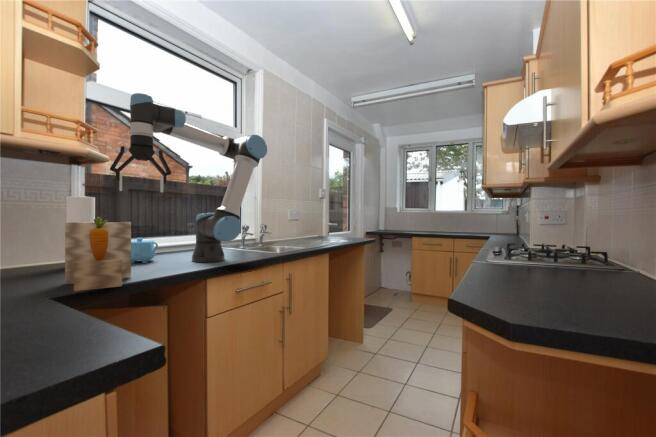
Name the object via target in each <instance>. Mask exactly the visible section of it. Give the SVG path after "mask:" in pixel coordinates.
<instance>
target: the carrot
mask: <svg viewBox="0 0 656 437" xmlns="http://www.w3.org/2000/svg"><path fill="white" fill-rule="evenodd" d="M94 222H95V224H96V228H93V229H91V230H90V246H91V250H92V254H93V256H94V258H95V259H96V261H102V260H103V258H104V256H105V254H106V250H107V246H108V230H107V229H106V228H102V226H103V225H104V224H105V223H106V222H109V220H108V219H105V220H103V218H101V216H97V217H95V219H94ZM102 222H103V223H102Z"/></svg>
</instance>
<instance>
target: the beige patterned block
mask: <svg viewBox="0 0 656 437" xmlns="http://www.w3.org/2000/svg"><path fill="white" fill-rule="evenodd" d="M103 222H104V221H102V223H103ZM93 228H96V224H95V222H67V221H66V222H64V242H65V243H64V278H65V279H64V284H65V285H71V284H73V292H78V291H88V290H98V289H105V288H106V289H107V288H117V287H122V286H123V280H125V278H129V279H132V264H131V241H132V222H131V221H121V222H119V221H118V222H117V221H116V222H114V221H113V222H109V221H108V222H106V223H105V224H104V225H103V226H102V228H106V229H107V230H108V246H107V250H106V254H105V256H104V258H103V260H102V261H96V259H95V258H94V256H93V254H92V250H91V246H90V230H91V229H93Z"/></svg>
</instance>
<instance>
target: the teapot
mask: <svg viewBox="0 0 656 437" xmlns="http://www.w3.org/2000/svg"><path fill="white" fill-rule="evenodd" d="M158 247H159V245H158V243H157V242H156V241H155V240H144V238H143V237H137V238H136V240H131V265H132V264H135V262H137V261H141V263H142V264H147V263H149V262H150V261H151V260H153V259H154V258H155V257H156V256H157V252H155V251H157V250H158Z"/></svg>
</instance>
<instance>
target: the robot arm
mask: <svg viewBox="0 0 656 437" xmlns="http://www.w3.org/2000/svg"><path fill="white" fill-rule="evenodd" d="M129 103H130V104H129V110H130V111H129V112H130V114H129V115H130V124H129V125H130V127H129V128H130V131H129V133H130V134H131V135H130V137H129V140H130V141H129V142H130V145H129V146H130V147H125V145H121V146H120V150H119V153H118V154H117V156H116V157H115V159H114V161H113V162H112V164H111V166H110V167H109V171H111V172H114V173H115V181H116V182H119V192H122V191H123V173H122V171H123V170H124V169H125V168H126V167H127V166H128V165H129V164H130V163H131V162H133V161H134V160H136V161H143V162H147V161H148V162H150V163H151V164H152V165H153V167H155V169H156V170H157V171H158V172H159V173H160V174H161V175H160V177H159V178H160V179H159V180H160V181H159V182H160V183H159V184H160V185H159V187H160V189H159V192H160V193H164V185H166V184H167V177H168V176H170V175H172V170H171V169H170V167H169V165H168V163H167V161H166V159H165V157H164V155H163V151H162V150H161V149H159V150H154V138H153V137H154V134H159V133H161V134H164V135H167V136H169V137H170V136H171V137H173V138H176V139H179V140H182V141H185V142H188V143H189V144H190V143H191V144H194V145H196V146H199V147H201V148H206V149H208V150H210V151H213V152H217V153H218V154H219V155H220V156H223V157H225V158H228V159H231V160H234V161H236V163H235V165H234V168H233V171H232V173H231V177H230V179H229V182H228V185H227V188H226V191H225V193H224V196H223V199H222V202H221V203H220V204H221V205H220V207H217V208H216V209H215V211H214V212H205V213H204V212H203V213H199V214H197V215H196V218H195V246H194V249H193V252H192V254H191V255H192V256H191V261H192V262H194V263H217V262H222V261H225V259H226V258H225V252H224V250H223V247H222V243H223V242H224V243H225V242H231V241H234V240H235V239H236V238H238V237H239V235H240V233H241V230H242V226H241V225H242V224H241V221H240V220H241V215H240V211H241V210H240V209H241V206H242V203H243V201H244V199H245V194H246V192H247V189H248V186H249V183H250V180H251V176H252V175H253V171H254V168H257V167H258V166H259V163H260V161H261V159H263V158H265V157H266V155H267V153H268V145H267V144H266V141H265V139H264V137H261V135H259V134H258V135H257V134H250V135H247V136H243V137H239V138H232V137H231V138H230V137H228V136H223V137H221V136H219V135H217V134H214V133H212V132H208V131H206V130H203V129H201V128H198V127H195V126H193V125H190V124H187V123H186V120H187V117H186V113H185V111H184V110H182V109H179V108H176V107H171V106H166V105H162V104H159V103H155V101H154V98H153V97H152V96H151V95H148V94H146V93H143V92H142V93H139V92H136V93H133V94H131V96H130V102H129ZM127 152H129V154H131V156H129V157H128V158H127V159H126V160H125V161H124V162H123V163H121V165H120V166H118V167H117V165H118V163H120V161H121V159H122V157H123V156H124V154H126V153H127ZM154 155H156V157H158V159H159V161H160V162H161V164H162V166H163V168H164V169H163V168H162V167H161V165H160V164H159V163H158V162H157V161H156V160H155V158H154ZM116 167H117V168H116Z"/></svg>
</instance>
